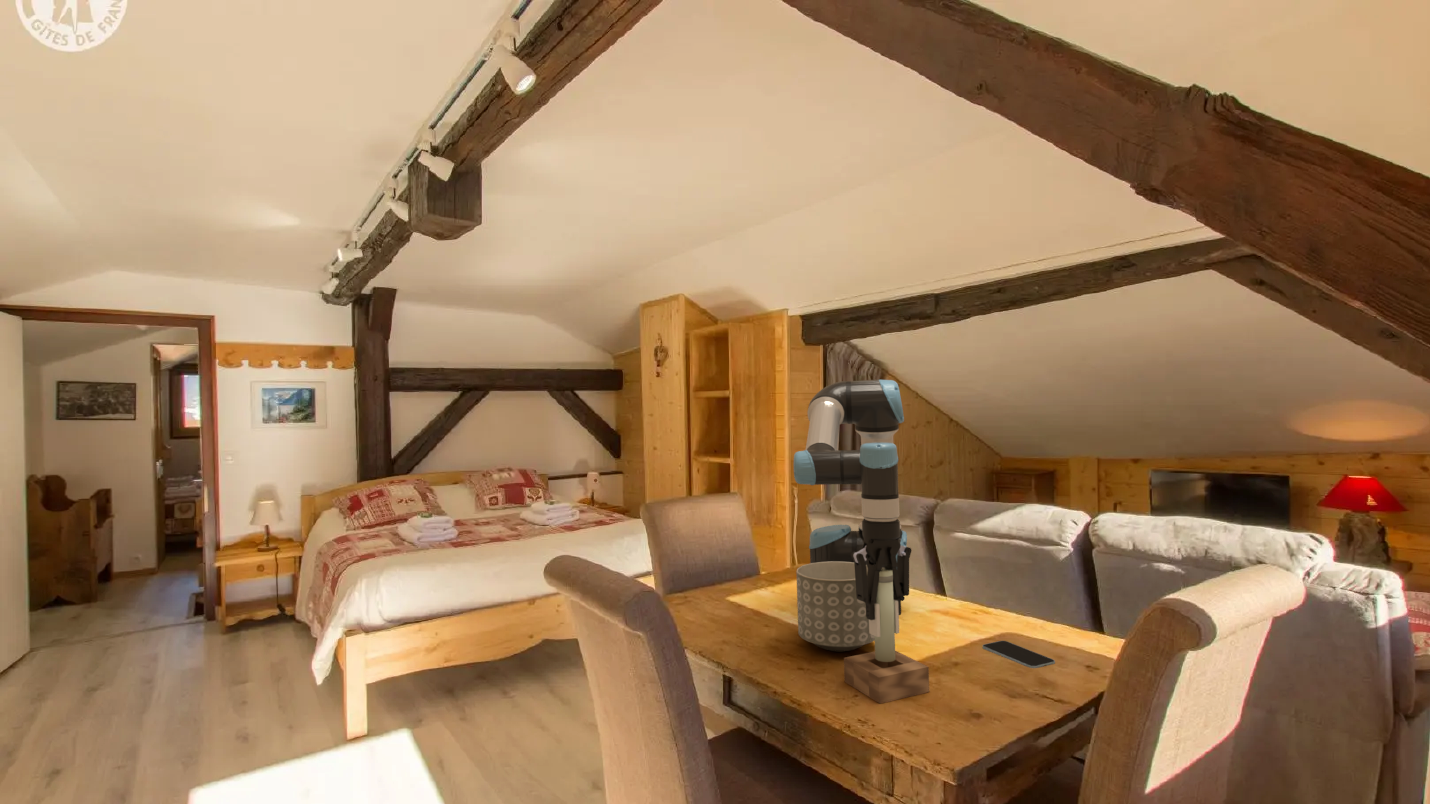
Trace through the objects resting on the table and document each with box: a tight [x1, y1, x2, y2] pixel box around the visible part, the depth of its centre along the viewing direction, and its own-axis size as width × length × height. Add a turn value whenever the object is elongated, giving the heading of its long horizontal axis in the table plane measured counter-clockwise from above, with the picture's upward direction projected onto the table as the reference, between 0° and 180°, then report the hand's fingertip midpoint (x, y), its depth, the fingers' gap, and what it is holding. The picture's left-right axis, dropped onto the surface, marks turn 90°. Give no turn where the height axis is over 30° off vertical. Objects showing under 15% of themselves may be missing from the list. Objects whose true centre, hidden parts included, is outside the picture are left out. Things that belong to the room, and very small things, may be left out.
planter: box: [795, 562, 875, 653], centre depth 166 cm, size 19×19×18 cm
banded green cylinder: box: [874, 568, 896, 662], centre depth 141 cm, size 4×4×18 cm
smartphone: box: [982, 640, 1056, 669], centre depth 157 cm, size 7×1×15 cm
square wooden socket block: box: [843, 650, 930, 704], centre depth 141 cm, size 12×12×5 cm
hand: (884, 632), depth 141 cm, fingers closed on banded green cylinder, 4 cm apart
